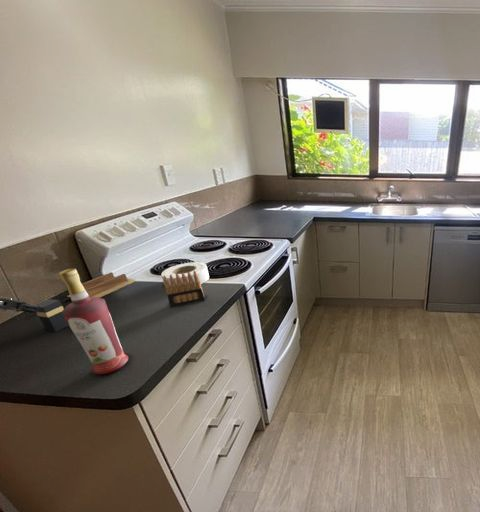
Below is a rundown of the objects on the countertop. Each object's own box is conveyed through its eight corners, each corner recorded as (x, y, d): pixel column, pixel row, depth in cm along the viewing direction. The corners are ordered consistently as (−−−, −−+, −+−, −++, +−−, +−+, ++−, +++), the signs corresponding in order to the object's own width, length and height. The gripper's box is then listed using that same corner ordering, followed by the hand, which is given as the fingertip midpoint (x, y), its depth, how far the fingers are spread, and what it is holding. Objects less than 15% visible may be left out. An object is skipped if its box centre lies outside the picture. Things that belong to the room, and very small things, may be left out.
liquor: (137, 356, 79) (98, 263, 68) (119, 376, 72) (72, 277, 61) (107, 359, 78) (62, 265, 67) (86, 380, 71) (32, 279, 60)
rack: (67, 298, 107) (63, 289, 105) (113, 279, 121) (109, 270, 120) (90, 301, 105) (86, 292, 103) (134, 281, 119) (131, 273, 118)
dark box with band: (45, 330, 89) (32, 305, 86) (62, 322, 93) (49, 298, 89) (55, 332, 88) (42, 307, 85) (71, 324, 92) (59, 300, 89)
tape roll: (187, 271, 128) (183, 260, 126) (217, 274, 125) (215, 263, 123) (154, 288, 114) (150, 276, 112) (188, 292, 111) (184, 279, 109)
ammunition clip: (205, 298, 107) (197, 269, 103) (205, 300, 106) (197, 271, 101) (171, 305, 103) (161, 275, 98) (170, 307, 101) (160, 277, 97)
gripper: (-29, 280, 68) (52, 298, 83) (-69, 275, 71) (17, 292, 86) (-51, 311, 66) (37, 324, 80) (-92, 304, 68) (1, 317, 83)
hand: (27, 307), depth 83 cm, fingers open, 8 cm apart
